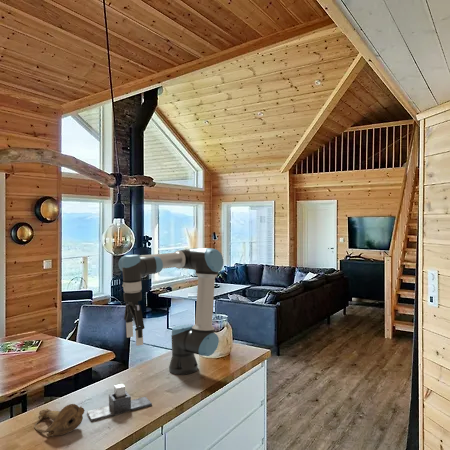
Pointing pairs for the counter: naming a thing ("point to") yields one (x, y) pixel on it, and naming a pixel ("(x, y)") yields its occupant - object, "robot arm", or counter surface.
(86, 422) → the counter surface
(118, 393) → the beige rectangular block
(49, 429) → the sword hilt
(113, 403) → the square socket bracket
